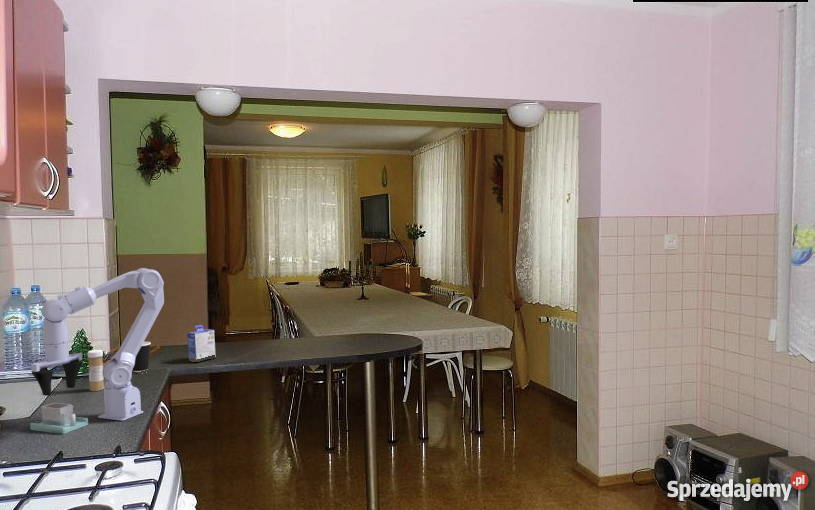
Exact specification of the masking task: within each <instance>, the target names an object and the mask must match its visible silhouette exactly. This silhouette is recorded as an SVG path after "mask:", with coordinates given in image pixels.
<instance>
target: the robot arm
mask: <svg viewBox="0 0 815 510" xmlns="http://www.w3.org/2000/svg"><path fill="white" fill-rule="evenodd" d="M164 284H165V282H164V280H163V278H162V276H161V274H160V273H159V272H158V271H157V270H155V269H151V268H150V269H149V268H146V267H141V268H140V267H139V268H138V269H136V270H131V271H128V272H125V273H123V274H120V275H118V276H116V277H113V278H112V279H110V280H108V281H104V282H103V283H101V284H98V285H95V286H94V287H92V288H91V287H87V286H83V287H81V286H77V287H75V288H74V289H75V290H73V291H71V292H68V293H66V294H64V295H62V294H59V295H57V299H55V298H52V299H48V300H46V301H45V302H44V304H43V305H42V307H41V310H40V313H41V315H42V316H43V317H44V318H43V325H44V326H43V340H44V343H43V344H44V358H43V360H41V361H37V362H35V363H31V364H30V371H31V374H32V376H33V377H34V379H35V380H36V381H37V383H38V385H39V387H40V389H41V393H42V395H43V396H47V397H48V396H51V395H52V378H53V374H54V370H50V369H49V368H54V367H57V366H61V365H62V368H63V370H64V375H65V385H66V388H67V389H68V388H69V389H74V388H75V387H76V382H77V377H78V375H79V372H80V370H81V368H82V367H83V364H84V363H83V361H82V360H83V353H81V352H75V353H71V354H70V350H69V349H70V348H69V330H68V329H69V328H68V324H67V317H68V316H69V315H73V314H75V313H79V312H80V311H82V310H85V309H87V308H89V307H92V306H94V305H95V304H96V300H97V299H100V298H102V297H104V296H107V295H110V294H112V293H114V292H117V291H120V290H122V289H124V288H125V289H126V288H129V289H137V290H139V292H140V293H141V297H142V298H143V301H144V303H143V305H142V306H141V309H140V310H139V312H138V314H137V316H136V317H135V320H134V322H132V325H131V327H130V328H129V330H128V333H127V334H126V337H125V338H124V340H123V342H122V343H121V345H120V347H119V349H118V351H116V352H115V353H114V354H113V355H112V358H111V359H110V360H109V361H108V362H106V363H105V365H103V371H102V373H103V377H104V379H106V381H105V382H104V389H103V394H104V395H103V399H104V413H103V414H100V415H98V416H97V418H98V419H104V420H105V419H106V420H112V421H113V420H114V421H125V420H129V419H131V418H133V417H135V416H139V415H141V414H143V413H144V411H143V410H142V404H141V402H142V401H141V392H140V390H139V388H138V387H136V386H133V384H132V381H131V380H132V376H133V367H134V364H135V357H136V355H137V353H138V352H139V350H140V348H141V346H142V344H143V342H145V340H146V339H147V336H148V335H149V333H150V331H151V328H152V327H153V325H154V324H155V321H156V319H157V318H158V316H159V314H160V312H161V310H162V308H163V306H164V303H165V295H164V294H165V293H164Z"/></svg>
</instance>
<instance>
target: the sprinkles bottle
mask: <svg viewBox="0 0 815 510" xmlns="http://www.w3.org/2000/svg"><path fill="white" fill-rule="evenodd" d="M103 356H104V353H103V349H92V350H89V351H87V358H88V380H89V391H91V392H96V391H97V392H98V391H103V390H104V384H105V382H104V379H105V378H104V376H103V373H102V371H103V367H104V362H103V361H104V360H103Z"/></svg>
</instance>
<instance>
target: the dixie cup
mask: <svg viewBox="0 0 815 510" xmlns="http://www.w3.org/2000/svg"><path fill="white" fill-rule="evenodd" d="M151 344H152V343H151V341H144V342H143V344H142V346H141V348H140V350H139V352H138V353H137V355H136V357H135V364H134V367H133V369H132V372H133V373H134V372H141V371H145V370H148V371H149V367H150V365H149V364H150V353H151V352H150V351H151V349H150V348H151Z"/></svg>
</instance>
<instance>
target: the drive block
mask: <svg viewBox="0 0 815 510" xmlns="http://www.w3.org/2000/svg"><path fill="white" fill-rule="evenodd" d="M40 408H41V422H42V424H46V425H53V426H61V427H62V426H65V425H68V424H71V420H70V415H71V414H74V405H73V404H71V403H61V402H51V403H49V404H46V405H43V406H42V405H41V407H40Z"/></svg>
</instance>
